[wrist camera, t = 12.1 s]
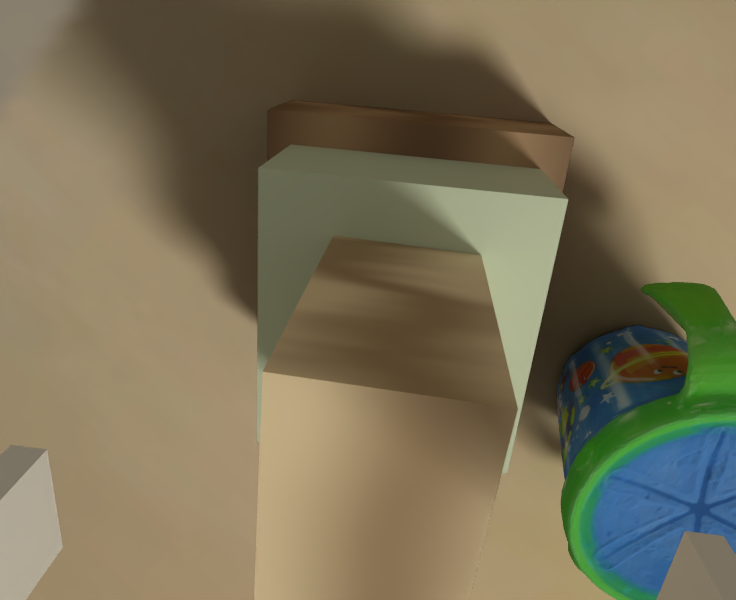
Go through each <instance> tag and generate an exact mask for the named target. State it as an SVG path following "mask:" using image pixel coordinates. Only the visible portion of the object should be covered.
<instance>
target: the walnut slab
mask: <svg viewBox="0 0 736 600" xmlns="http://www.w3.org/2000/svg"><path fill="white" fill-rule="evenodd" d="M573 142H574V137H573V136H571V135H569V134H568V133H566V132H565V131H563V130H561V129H560V128H558V127H556V126H555V125H553V124H552V123H543V122H532V121H521V120H509V119H498V118H487V117H476V116H464V115H453V114H442V113H431V112H420V111H408V110H397V109H386V108H375V107H363V106H352V105H341V104H330V103H319V102H307V101H296V100H291V101H289V102H286V103H284V104H281V105H279V106H276V107H274V108H271V109H269V110H268V156H267V161H269V160H270V159H271V158H273V157H274V156H275V155H277V154H278V153H280V152H281V151H282V150H284V149H285V148H287V147H288V146H289V145H291V144H292V145H302V146H312V147H322V148H332V149H343V150H353V151H363V152H373V153H383V154H393V155H404V156H414V157H424V158H434V159H444V160H454V161H465V162H475V163H485V164H495V165H505V166H516V167H526V168H536V169H541V170H542V171H543V172H544V173H545V174H546V175H547V177H548V178H549V179H550V180H551V181H552V182H553V183H554V184H555V185H556V186H557V187H558V188H559V189H560V191H561V192H562V193H563V188H564V184H565V179H566V174H567V170H568V165H569V160H570V156H571V151H572V146H573Z"/></svg>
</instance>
